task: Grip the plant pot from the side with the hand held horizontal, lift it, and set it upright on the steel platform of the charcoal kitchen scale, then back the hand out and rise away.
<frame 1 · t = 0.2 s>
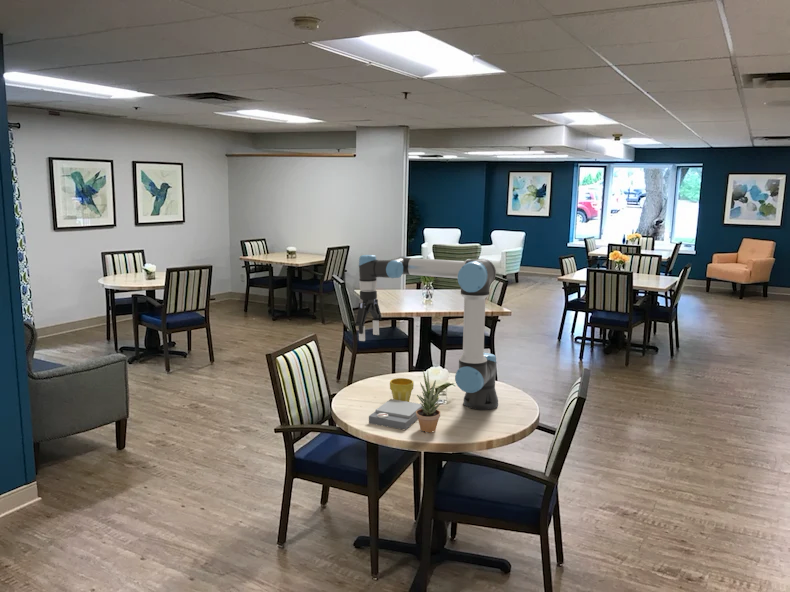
hand: (369, 337, 281), 27 cm above the table, tool pointing down, fingers open, 13 cm apart
plant pot: (401, 403, 279), on the table
kitchen scale: (398, 417, 261), on the table
potted plant: (427, 430, 248), on the table
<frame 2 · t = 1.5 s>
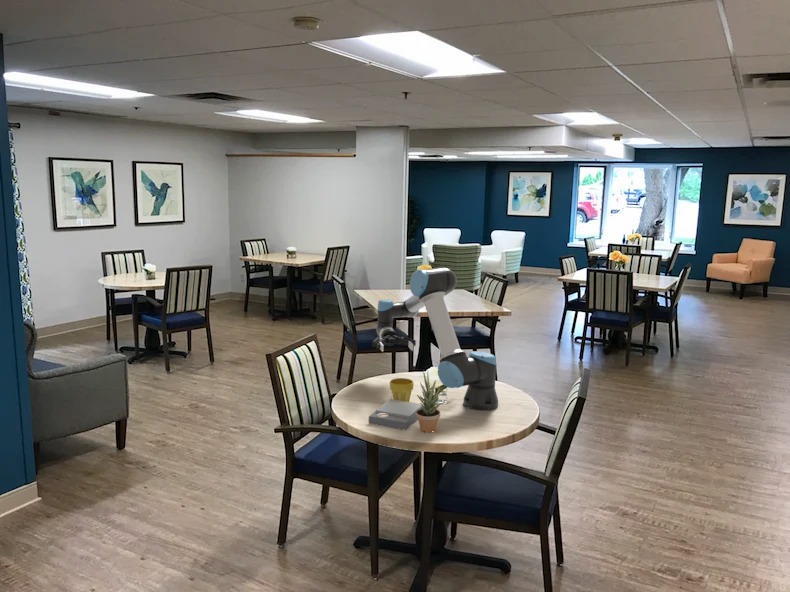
hand: (397, 348, 283), 22 cm above the table, tool horizontal, fingers open, 13 cm apart
nothing on the table moved.
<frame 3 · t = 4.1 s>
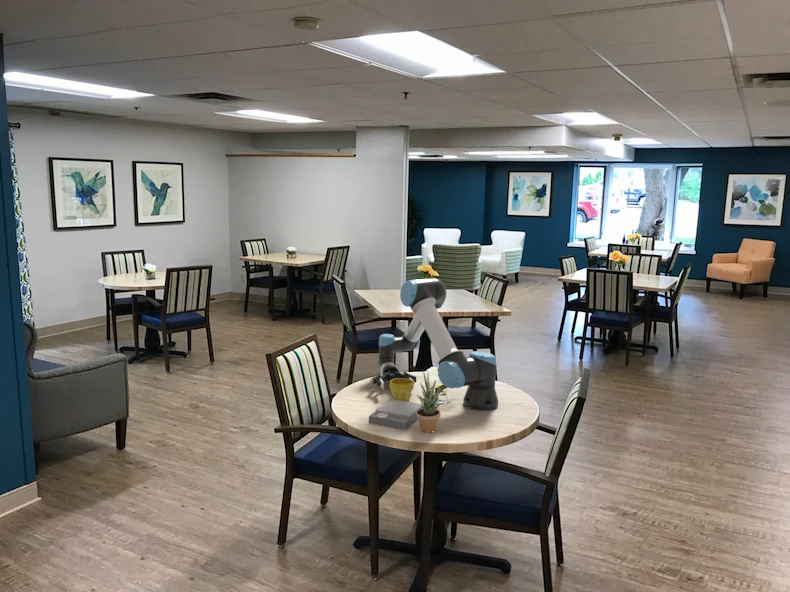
hand: (398, 385, 283), 6 cm above the table, tool horizontal, fingers open, 13 cm apart
nothing on the table moved.
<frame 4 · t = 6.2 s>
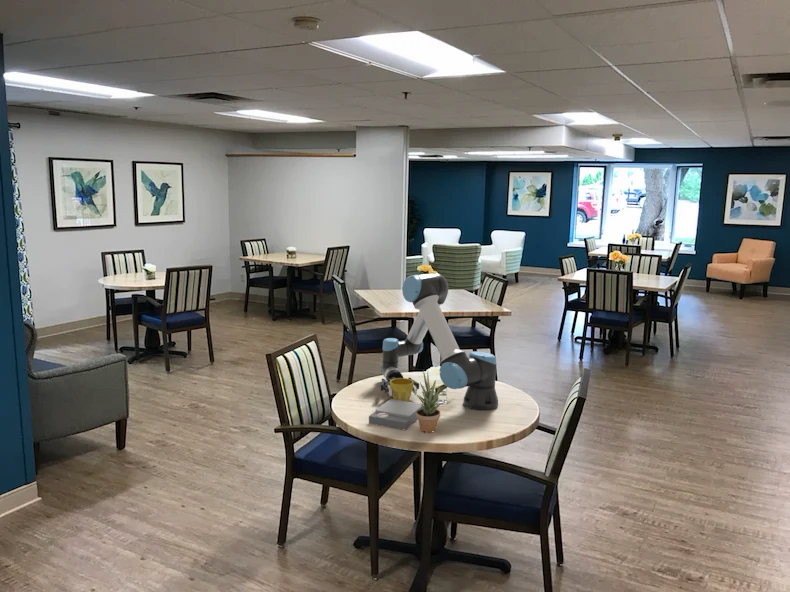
hand: (403, 392, 273), 6 cm above the table, tool horizontal, fingers closed on plant pot, 10 cm apart
plant pot: (401, 403, 279), on the table, touching gripper
everything else where it was.
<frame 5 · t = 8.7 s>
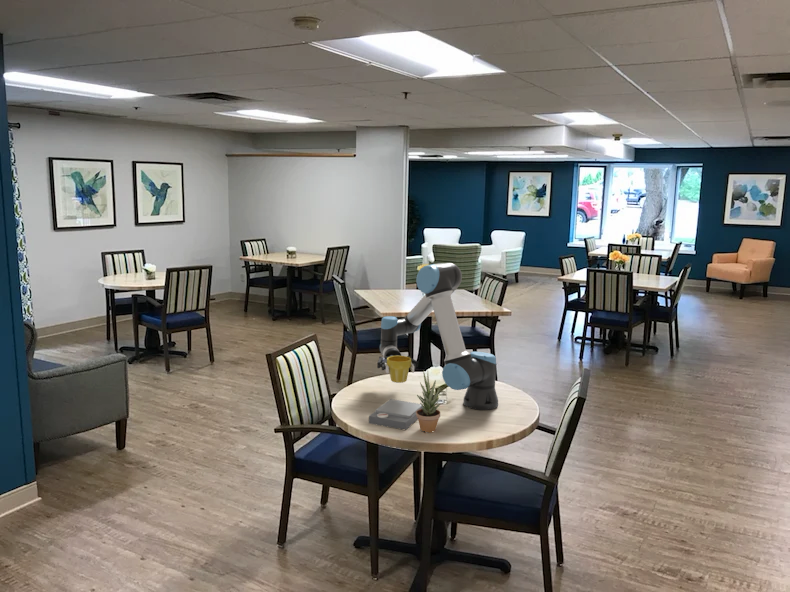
hand: (400, 369, 266), 18 cm above the table, tool horizontal, fingers closed on plant pot, 10 cm apart
plant pot: (398, 380, 271), point 12 cm above the table, touching gripper
everything else where it was.
when the fingers open (11 cm above the table, at t = 11.1 s): plant pot drops 1 cm, resting on kitchen scale.
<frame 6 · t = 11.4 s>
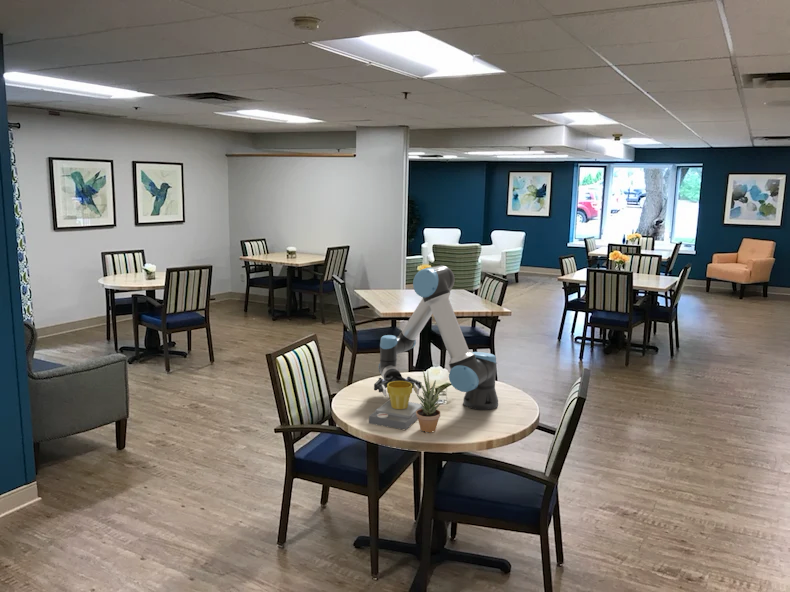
hand: (401, 392, 257), 11 cm above the table, tool horizontal, fingers open, 13 cm apart
plant pot: (399, 407, 262), point 4 cm above the table, touching kitchen scale
everything else where it was.
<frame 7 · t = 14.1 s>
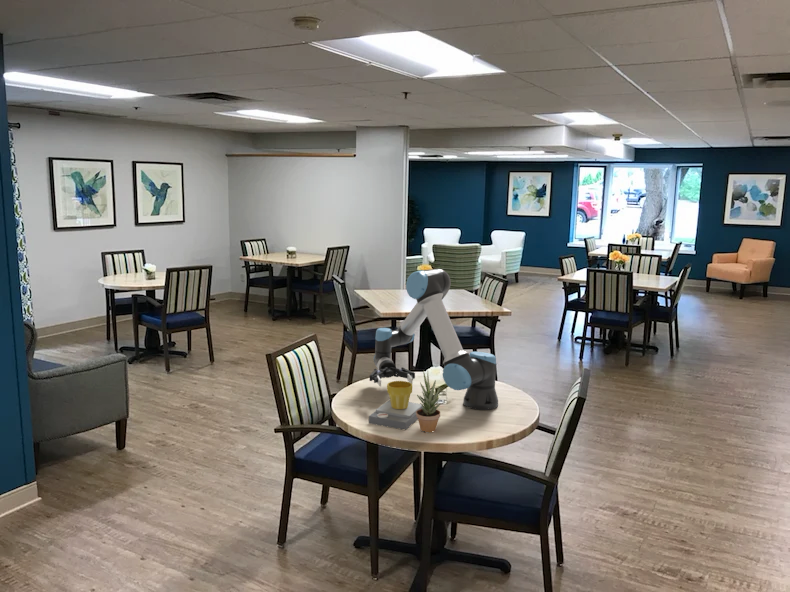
hand: (396, 382, 270), 11 cm above the table, tool horizontal, fingers open, 13 cm apart
nothing on the table moved.
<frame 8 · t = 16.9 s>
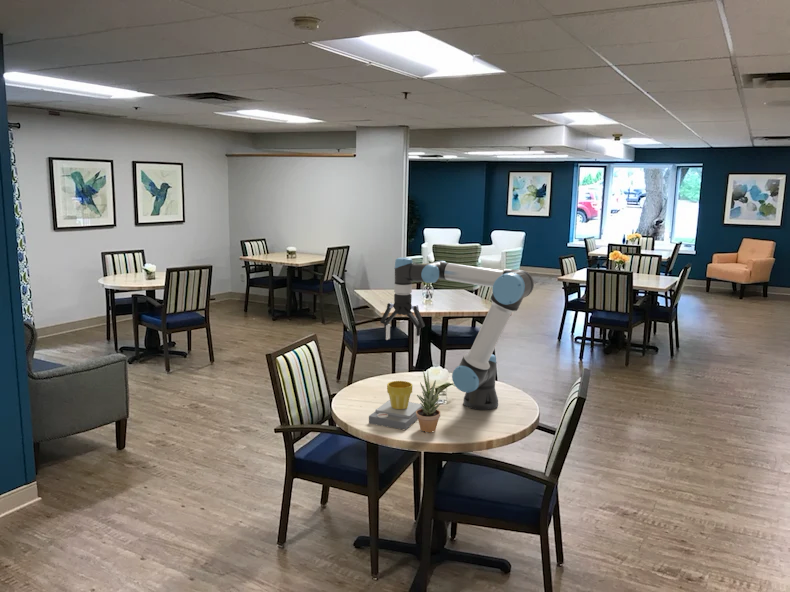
hand: (401, 341, 278), 27 cm above the table, tool pointing down, fingers open, 13 cm apart
nothing on the table moved.
at the end: plant pot inside the target area on the kitchen scale (0.2 cm from its centre), point 3.8 cm above the kitchen scale's base; plant pot tilted 0°; the gripper is holding nothing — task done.
